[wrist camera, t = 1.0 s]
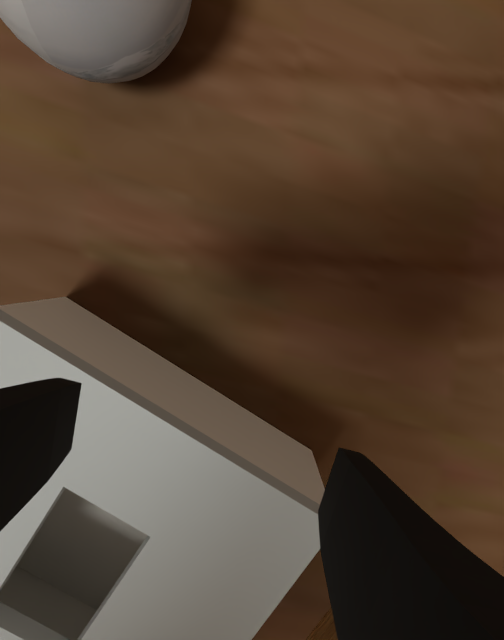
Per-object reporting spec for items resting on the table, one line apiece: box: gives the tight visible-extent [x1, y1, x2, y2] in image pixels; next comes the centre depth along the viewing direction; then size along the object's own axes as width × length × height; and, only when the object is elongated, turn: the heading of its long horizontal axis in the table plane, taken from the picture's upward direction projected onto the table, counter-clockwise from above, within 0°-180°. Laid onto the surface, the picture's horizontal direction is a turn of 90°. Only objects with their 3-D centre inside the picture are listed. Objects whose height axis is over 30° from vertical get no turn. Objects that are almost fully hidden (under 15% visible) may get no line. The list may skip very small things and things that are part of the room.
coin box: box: [0, 297, 325, 640], centre depth 17 cm, size 16×16×6 cm
